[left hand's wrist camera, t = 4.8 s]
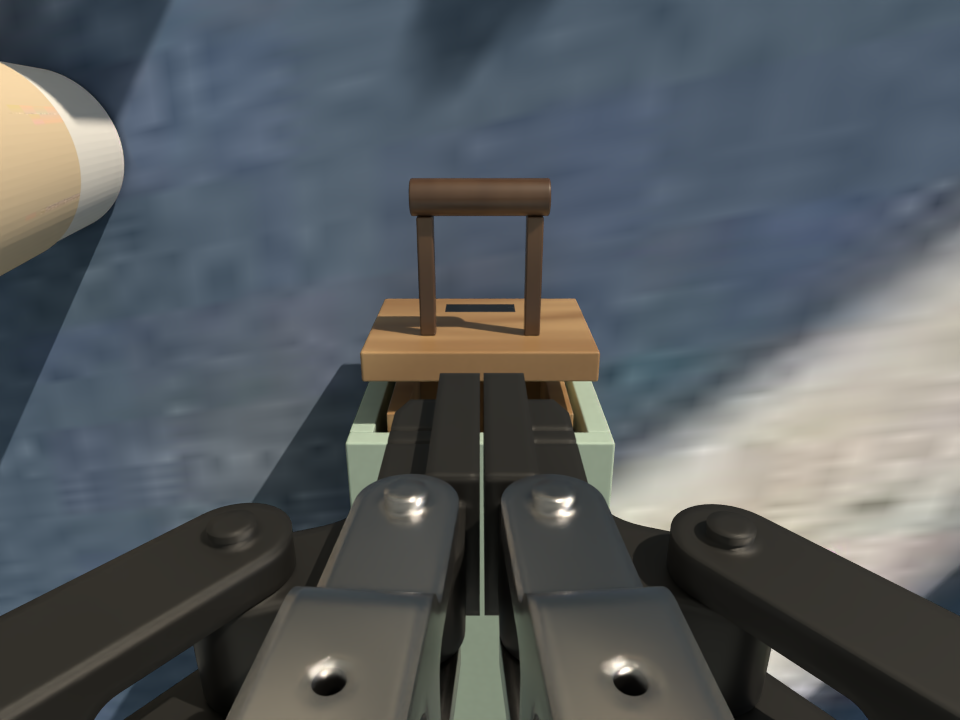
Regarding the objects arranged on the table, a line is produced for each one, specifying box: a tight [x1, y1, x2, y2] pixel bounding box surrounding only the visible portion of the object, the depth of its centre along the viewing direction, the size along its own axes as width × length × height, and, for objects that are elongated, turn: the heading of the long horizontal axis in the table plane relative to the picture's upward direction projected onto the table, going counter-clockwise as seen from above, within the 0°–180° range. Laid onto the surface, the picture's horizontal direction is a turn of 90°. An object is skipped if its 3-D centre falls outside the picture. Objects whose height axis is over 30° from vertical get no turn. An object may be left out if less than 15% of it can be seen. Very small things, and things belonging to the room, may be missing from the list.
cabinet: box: [345, 381, 615, 720], centre depth 33 cm, size 21×10×9 cm, turn 0°
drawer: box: [360, 178, 600, 433], centre depth 30 cm, size 26×9×7 cm, turn 0°
